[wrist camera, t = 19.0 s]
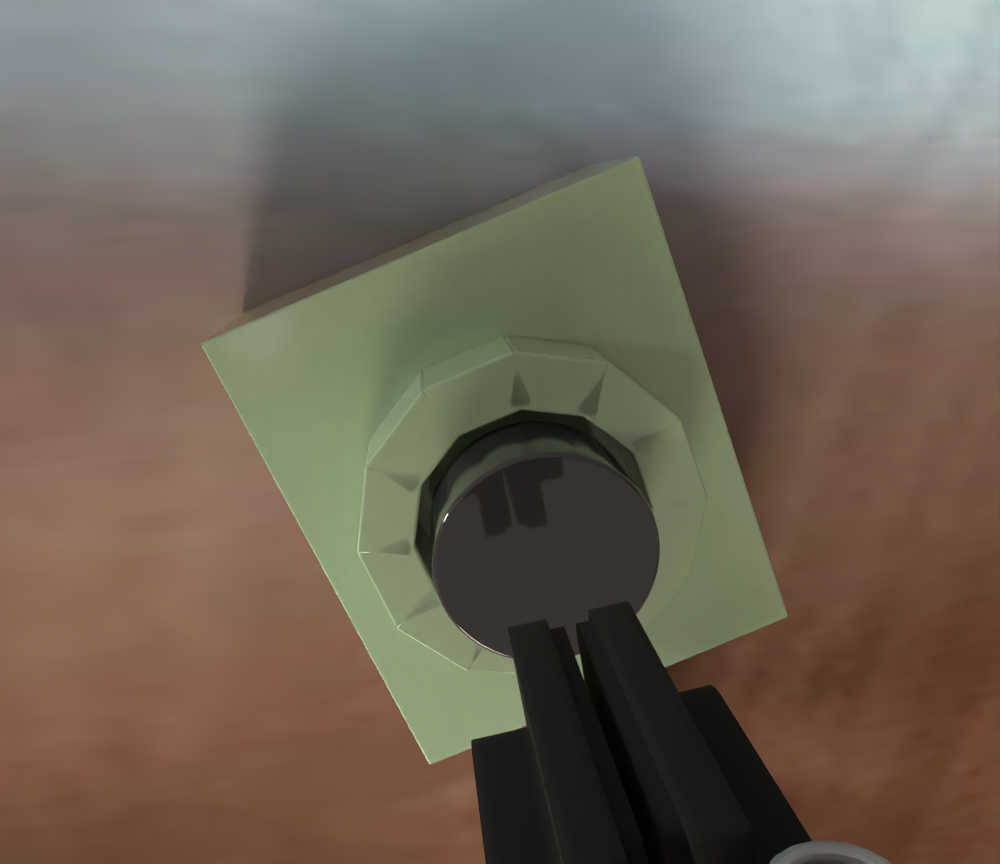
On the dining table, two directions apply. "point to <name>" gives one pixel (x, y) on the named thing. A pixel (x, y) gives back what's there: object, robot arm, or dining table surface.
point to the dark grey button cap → (538, 533)
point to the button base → (497, 424)
